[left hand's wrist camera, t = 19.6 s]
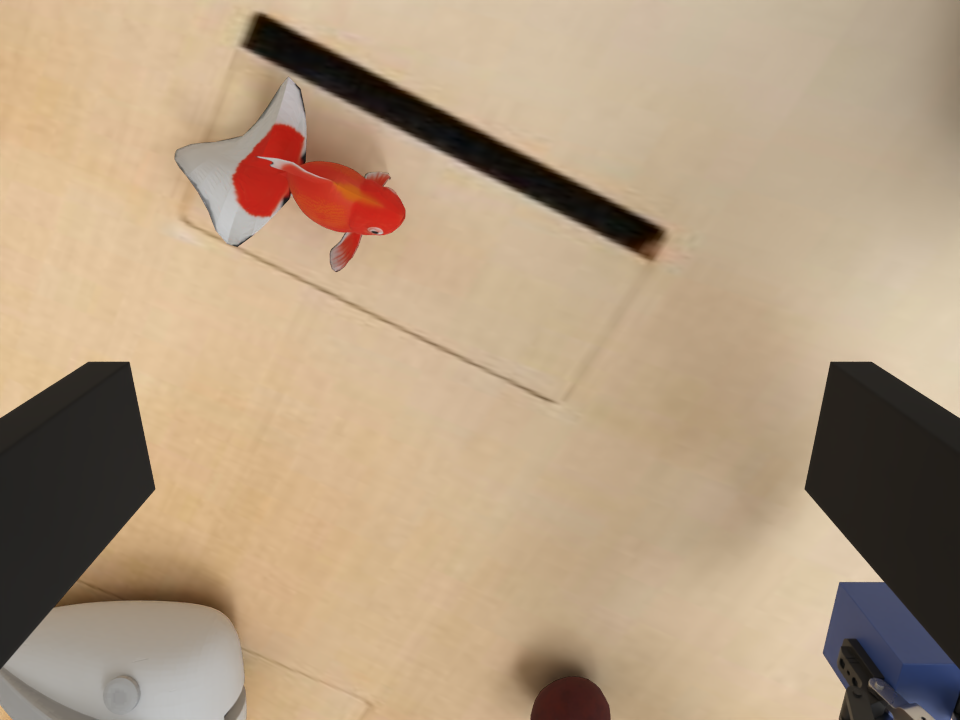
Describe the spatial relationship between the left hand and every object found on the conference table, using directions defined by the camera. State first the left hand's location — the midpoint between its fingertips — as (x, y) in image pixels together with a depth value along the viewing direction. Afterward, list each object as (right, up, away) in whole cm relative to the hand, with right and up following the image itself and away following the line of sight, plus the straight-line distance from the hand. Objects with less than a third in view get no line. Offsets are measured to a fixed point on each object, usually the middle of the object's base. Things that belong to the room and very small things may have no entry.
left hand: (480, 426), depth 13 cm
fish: (-12, +14, +34) cm, 39 cm away
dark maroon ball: (+8, -31, +51) cm, 60 cm away
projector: (-33, -26, +50) cm, 65 cm away
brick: (+28, -18, +36) cm, 49 cm away
